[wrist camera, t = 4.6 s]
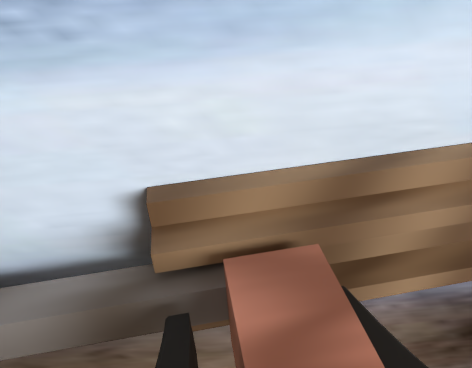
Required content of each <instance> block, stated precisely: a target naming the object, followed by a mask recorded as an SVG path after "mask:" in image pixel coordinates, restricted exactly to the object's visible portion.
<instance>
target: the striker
mask: <svg viewBox="0 0 472 368" xmlns="http://www.w3.org/2000/svg"><path fill="white" fill-rule="evenodd" d="M184 313H189V316H190V321H191V326H196V325H201V324H207V323H212V322H218V321H223V320H229V322H230V332H231V341H232V347H233V352H234V358H235V363H236V368H385V367H384V365H383V363H382V361H381V360H380V358H379V356H378V354H377V352H376V350H375V348H374V347H373V345H372V343H371V341H370V339H369V337H368V335H367V334H366V332H365V330H364V328H363V326H362V324H361V322H360V321H359V319H358V317H357V315H356V313H355V311H354V309H353V308H352V306H351V304H350V302H349V300H348V298H347V296H346V295H345V293H344V291H343V289H342V287H341V285H340V283H339V282H338V280H337V278H336V276H335V274H334V272H333V270H332V269H331V267H330V265H329V263H328V261H327V259H326V257H325V256H324V254H323V252H322V250H321V248H320V246H319V244H314V245H307V246H301V247H295V248H289V249H283V250H276V251H270V252H264V253H258V254H252V255H246V256H239V257H233V258H227V259H223V262H222V263H216V264H209V265H203V266H197V267H191V268H185V269H179V270H173V271H166V272H160V273H155V271H154V267H153V264H148V265H142V266H136V267H130V268H123V269H117V270H111V271H105V272H98V273H92V274H86V275H80V276H73V277H67V278H61V279H55V280H48V281H42V282H36V283H29V284H23V285H17V286H11V287H4V288H0V361H1V360H7V359H13V358H18V357H24V356H29V355H35V354H40V353H46V352H51V351H57V350H63V349H68V348H74V347H79V346H85V345H90V344H96V343H101V342H107V341H112V340H118V339H124V338H129V337H135V336H140V335H146V334H151V333H157V332H162V331H164V327H165V319H166V318H167V317H168V316H172V315H178V314H184Z"/></svg>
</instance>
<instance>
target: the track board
mask: <svg viewBox="0 0 472 368" xmlns="http://www.w3.org/2000/svg"><path fill="white" fill-rule="evenodd" d="M146 205H147V209H148V213H149V218H150V222H151V227H152V231H151V258H152V262H153V267H154V271H155V273H160V272H166V271H173V270H179V269H185V268H191V267H197V266H203V265H209V264H216V263H222V262H223V259H227V258H233V257H239V256H246V255H252V254H258V253H264V252H270V251H276V250H283V249H289V248H295V247H301V246H307V245H314V244H319V246H320V248H321V250H322V252H323V254H324V256H325V257H326V259H327V261H328V263H329V265H330V267H331V269H332V270H333V272H334V274H335V276H336V278H337V280H338V282H339V283H340V285H341V286H344V287H346V288H347V289H348V290H349V291H350V292H351V293H352V295H353V296H354V297H355V298H356V299H357V300H358V301H363V300H369V299H374V298H380V297H385V296H391V295H396V294H402V293H407V292H413V291H418V290H424V289H429V288H435V287H440V286H446V285H451V284H457V283H462V282H468V281H472V143H468V144H461V145H453V146H446V147H439V148H432V149H424V150H417V151H410V152H402V153H395V154H388V155H381V156H373V157H366V158H359V159H351V160H344V161H337V162H329V163H322V164H315V165H308V166H300V167H293V168H286V169H278V170H271V171H264V172H257V173H249V174H242V175H235V176H227V177H220V178H213V179H206V180H198V181H191V182H184V183H176V184H169V185H162V186H155V187H147V199H146ZM226 325H230V322H229V320H223V321H218V322H212V323H207V324H201V325H196V326H191V327H192V332H193V331H198V330H204V329H209V328H215V327H220V326H226Z"/></svg>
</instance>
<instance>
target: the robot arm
mask: <svg viewBox="0 0 472 368" xmlns="http://www.w3.org/2000/svg"><path fill="white" fill-rule="evenodd" d="M341 287H342V289H343V291H344V293H345V295H346V296H347V298H348V300H349V302H350V304H351V306H352V308H353V309H354V311H355V313H356V315H357V317H358V319H359V321H360V322H361V324H362V326H363V328H364V330H365V332H366V334H367V335H368V337H369V339H370V341H371V343H372V345H373V347H374V348H375V350H376V352H377V354H378V356H379V358H380V360H381V361H382V363H383V365H384V367H385V368H428V367H427V366H426V365H425V364H424V363H422V362H421V361H420V360H419V359H418V358H417V357H415V356H414V355H413V354H412V353H411V352H410V351H409V350H408V349H407V348H406V347H404V346H403V345H402V344H401V343H400V342H399V341H398V340H397V339H396V338H395V337H394V336H393V335H392V334H391V333H390V332H389V331H388V330H387V329H386V328H385V327H383V326H382V325H381V324H380V323H379V322H378V321H377V320H376V319H375V317H374V316H373V315H372V314H371V313H370V312H369V311H368V310H367V309H366V308H365V307H364V306H363V305H362V304H361V303H360V302H359V301H358V300H357V299H356V298H355V297H354V296H353V295H352V293H351V292H350V291H349V290H348V289H347V288H346V287H344V286H341ZM155 368H198V363H197V354H196V348H195V343H194V338H193V332H192V327H191V321H190V316H189V313H184V314H178V315H172V316H168V317H167V318H166V319H165V327H164V333H163V338H162V343H161V347H160V352H159V355H158V359H157V363H156V367H155Z"/></svg>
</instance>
